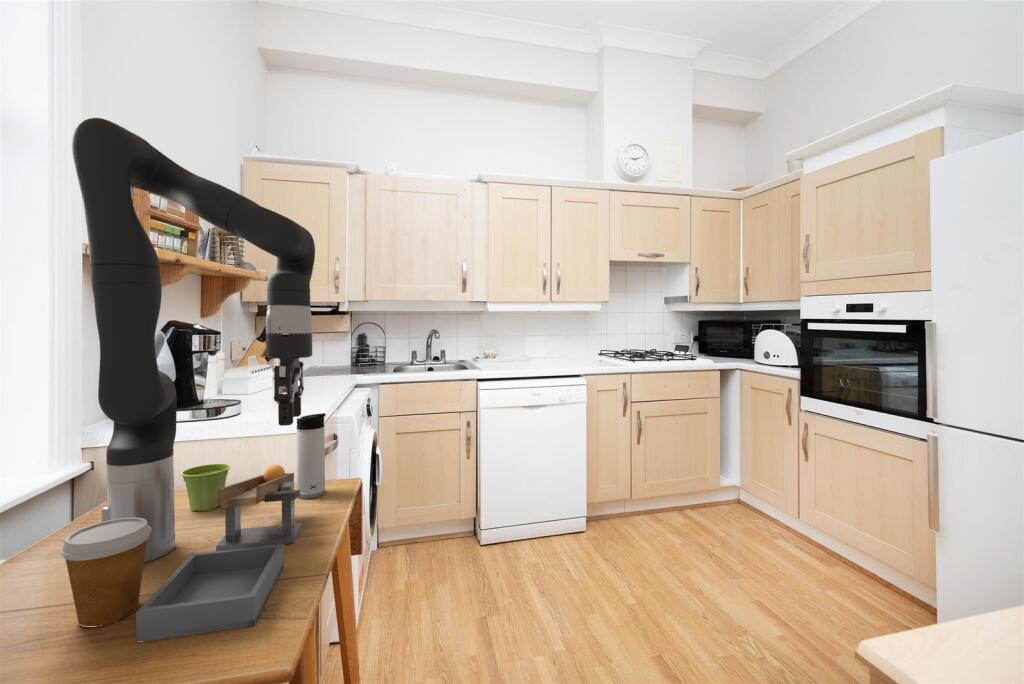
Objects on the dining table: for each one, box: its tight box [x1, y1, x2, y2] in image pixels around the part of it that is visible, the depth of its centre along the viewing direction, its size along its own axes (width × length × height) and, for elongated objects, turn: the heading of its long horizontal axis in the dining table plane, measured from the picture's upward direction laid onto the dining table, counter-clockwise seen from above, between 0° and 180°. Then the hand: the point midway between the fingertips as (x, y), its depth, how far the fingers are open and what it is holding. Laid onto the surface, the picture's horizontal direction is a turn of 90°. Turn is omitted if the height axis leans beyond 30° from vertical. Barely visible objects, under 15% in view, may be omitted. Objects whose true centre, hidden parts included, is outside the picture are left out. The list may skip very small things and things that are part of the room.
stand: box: [215, 481, 303, 551], centre depth 86 cm, size 13×7×10 cm, turn 104°
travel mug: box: [296, 413, 327, 500], centre depth 109 cm, size 6×7×20 cm
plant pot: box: [180, 463, 232, 512], centre depth 102 cm, size 9×9×9 cm
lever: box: [217, 472, 300, 508], centre depth 86 cm, size 11×24×5 cm, turn 14°
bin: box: [135, 544, 285, 643], centre depth 66 cm, size 14×16×4 cm
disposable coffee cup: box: [59, 517, 151, 626], centre depth 63 cm, size 10×10×12 cm
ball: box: [263, 464, 286, 482], centre depth 95 cm, size 4×4×4 cm
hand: (290, 420), depth 81 cm, fingers open, 8 cm apart
